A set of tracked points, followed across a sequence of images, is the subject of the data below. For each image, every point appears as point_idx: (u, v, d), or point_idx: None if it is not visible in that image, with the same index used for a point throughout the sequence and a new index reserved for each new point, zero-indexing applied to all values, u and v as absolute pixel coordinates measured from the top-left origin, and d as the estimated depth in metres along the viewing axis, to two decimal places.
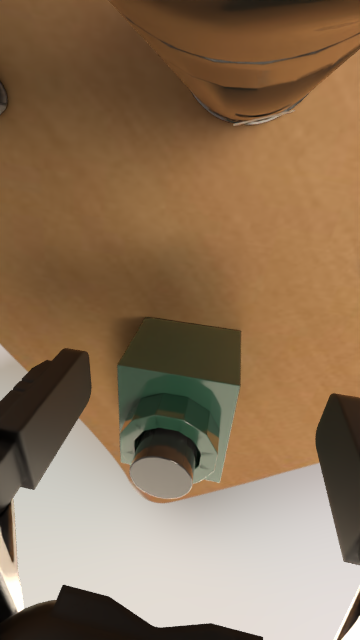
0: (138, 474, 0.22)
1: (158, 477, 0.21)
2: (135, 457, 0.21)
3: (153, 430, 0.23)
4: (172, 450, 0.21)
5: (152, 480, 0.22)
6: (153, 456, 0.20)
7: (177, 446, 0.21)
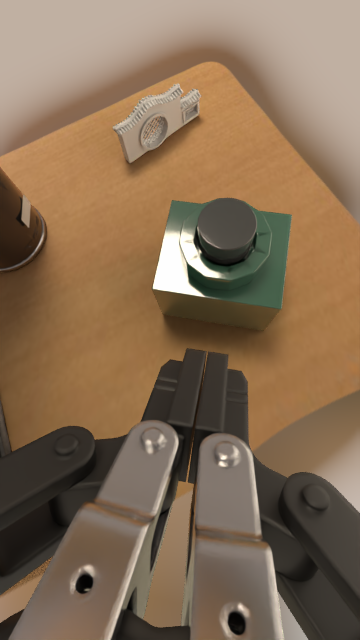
0: (224, 240, 0.23)
1: (225, 223, 0.23)
2: (207, 245, 0.23)
3: (199, 247, 0.26)
4: None
5: (230, 229, 0.23)
6: (198, 225, 0.24)
7: None
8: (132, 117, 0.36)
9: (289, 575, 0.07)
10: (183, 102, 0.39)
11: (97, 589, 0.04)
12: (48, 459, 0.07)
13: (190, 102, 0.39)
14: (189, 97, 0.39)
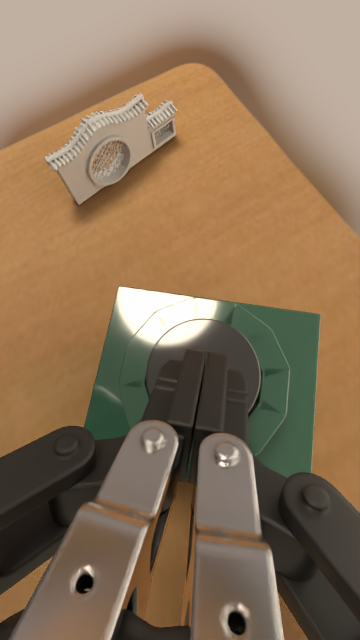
0: None
1: None
2: None
3: None
4: None
5: None
6: (146, 377, 0.12)
7: None
8: (72, 143, 0.24)
9: (289, 575, 0.07)
10: (151, 119, 0.27)
11: (97, 589, 0.04)
12: (48, 459, 0.07)
13: (161, 119, 0.27)
14: (160, 112, 0.27)
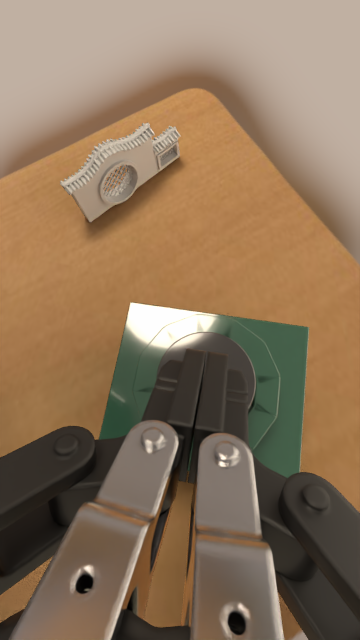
0: None
1: None
2: None
3: None
4: None
5: None
6: None
7: None
8: (85, 169, 0.26)
9: (289, 575, 0.07)
10: (157, 144, 0.29)
11: (97, 589, 0.04)
12: (48, 459, 0.07)
13: (166, 144, 0.30)
14: (165, 137, 0.30)
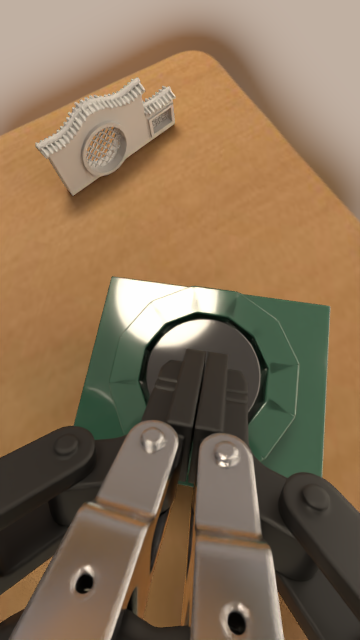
0: None
1: None
2: None
3: None
4: None
5: None
6: (146, 377, 0.12)
7: None
8: (65, 129, 0.23)
9: (289, 575, 0.07)
10: (148, 106, 0.26)
11: (97, 589, 0.04)
12: (48, 459, 0.07)
13: (159, 106, 0.26)
14: (157, 99, 0.26)
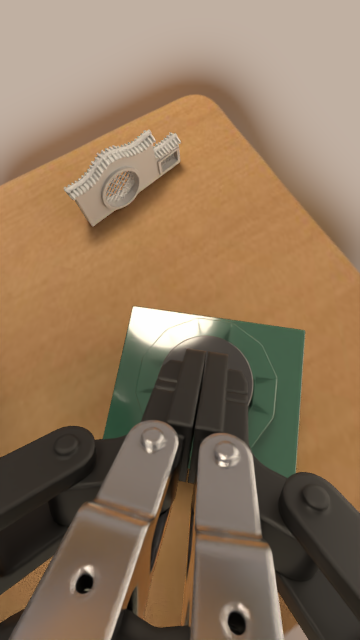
0: None
1: (202, 383, 0.15)
2: None
3: None
4: None
5: None
6: None
7: None
8: (89, 175, 0.27)
9: (289, 575, 0.07)
10: (158, 150, 0.30)
11: (97, 589, 0.04)
12: (48, 459, 0.07)
13: (167, 150, 0.30)
14: (165, 144, 0.30)
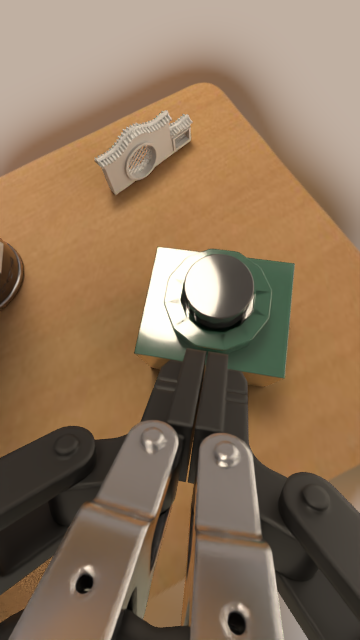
0: (215, 307, 0.19)
1: (216, 286, 0.20)
2: (196, 312, 0.20)
3: None
4: None
5: (222, 293, 0.20)
6: (184, 288, 0.20)
7: None
8: (116, 148, 0.32)
9: (289, 575, 0.07)
10: (173, 129, 0.35)
11: (97, 589, 0.04)
12: (48, 459, 0.07)
13: (180, 129, 0.35)
14: (179, 123, 0.35)
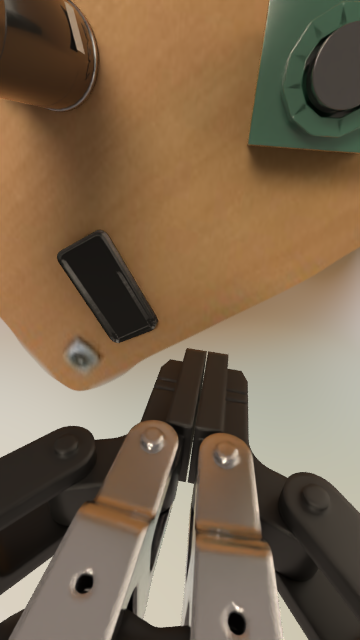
0: (342, 96, 0.20)
1: (347, 69, 0.20)
2: (321, 103, 0.21)
3: (307, 92, 0.22)
4: (315, 57, 0.20)
5: (353, 78, 0.20)
6: (313, 76, 0.20)
7: (316, 53, 0.20)
8: None
9: (289, 575, 0.07)
10: None
11: (97, 589, 0.04)
12: (49, 459, 0.07)
13: None
14: None
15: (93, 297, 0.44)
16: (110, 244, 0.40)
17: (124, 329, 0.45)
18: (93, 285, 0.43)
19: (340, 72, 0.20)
